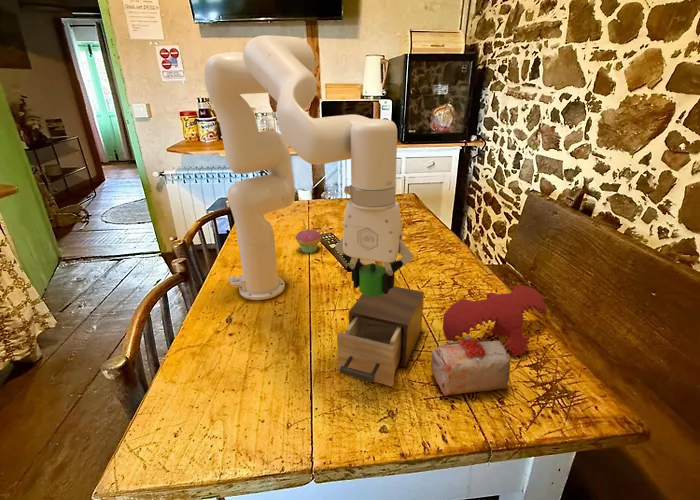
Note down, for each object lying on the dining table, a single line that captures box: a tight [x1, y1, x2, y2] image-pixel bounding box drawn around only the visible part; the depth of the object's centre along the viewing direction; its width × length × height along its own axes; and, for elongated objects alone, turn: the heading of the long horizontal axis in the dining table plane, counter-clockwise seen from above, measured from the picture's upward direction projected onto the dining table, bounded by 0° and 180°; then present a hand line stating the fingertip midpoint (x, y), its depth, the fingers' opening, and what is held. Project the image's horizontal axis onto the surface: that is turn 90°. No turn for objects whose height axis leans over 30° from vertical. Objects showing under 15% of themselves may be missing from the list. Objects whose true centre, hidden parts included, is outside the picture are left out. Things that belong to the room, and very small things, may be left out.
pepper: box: [358, 263, 386, 296], centre depth 74 cm, size 5×5×5 cm
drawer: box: [336, 316, 404, 387], centre depth 79 cm, size 17×11×9 cm
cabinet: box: [348, 285, 425, 368], centre depth 88 cm, size 14×13×11 cm
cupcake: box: [295, 216, 322, 254], centre depth 133 cm, size 9×8×12 cm
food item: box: [430, 333, 511, 397], centre depth 75 cm, size 14×8×10 cm, turn 97°
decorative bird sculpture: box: [442, 284, 548, 358], centre depth 88 cm, size 28×9×15 cm
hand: (372, 286), depth 75 cm, fingers closed on pepper, 5 cm apart
